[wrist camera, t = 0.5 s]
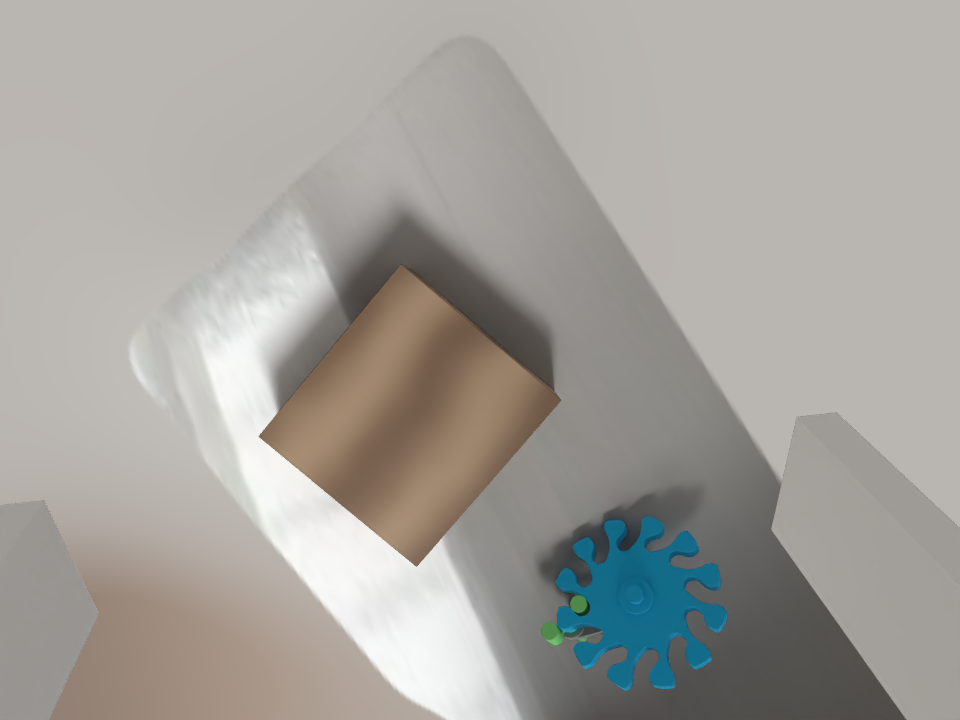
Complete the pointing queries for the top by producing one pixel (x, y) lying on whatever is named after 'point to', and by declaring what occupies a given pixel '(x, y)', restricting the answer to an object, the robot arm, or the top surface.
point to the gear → (636, 604)
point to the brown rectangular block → (410, 415)
